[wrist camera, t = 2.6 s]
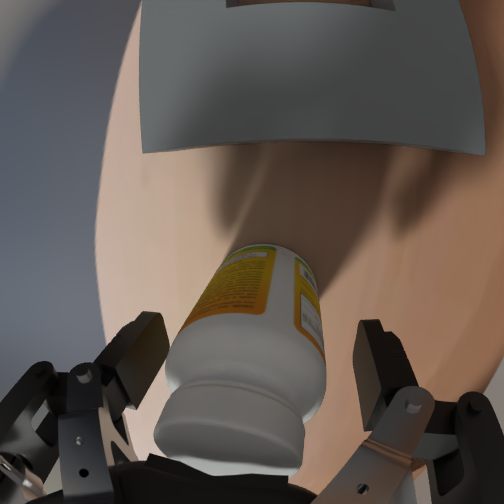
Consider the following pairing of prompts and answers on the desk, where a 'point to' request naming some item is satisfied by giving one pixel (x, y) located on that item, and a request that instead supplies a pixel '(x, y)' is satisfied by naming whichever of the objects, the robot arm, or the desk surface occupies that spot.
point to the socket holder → (308, 74)
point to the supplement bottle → (246, 368)
